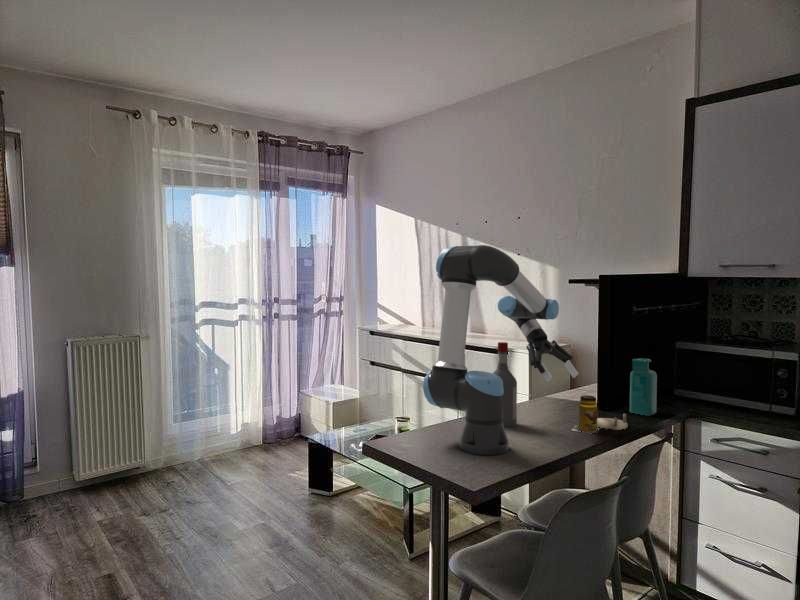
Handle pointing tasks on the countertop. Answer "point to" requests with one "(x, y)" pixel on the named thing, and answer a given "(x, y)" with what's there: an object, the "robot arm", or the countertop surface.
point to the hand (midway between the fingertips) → (563, 377)
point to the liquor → (507, 387)
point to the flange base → (612, 423)
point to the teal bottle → (643, 388)
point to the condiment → (587, 414)
